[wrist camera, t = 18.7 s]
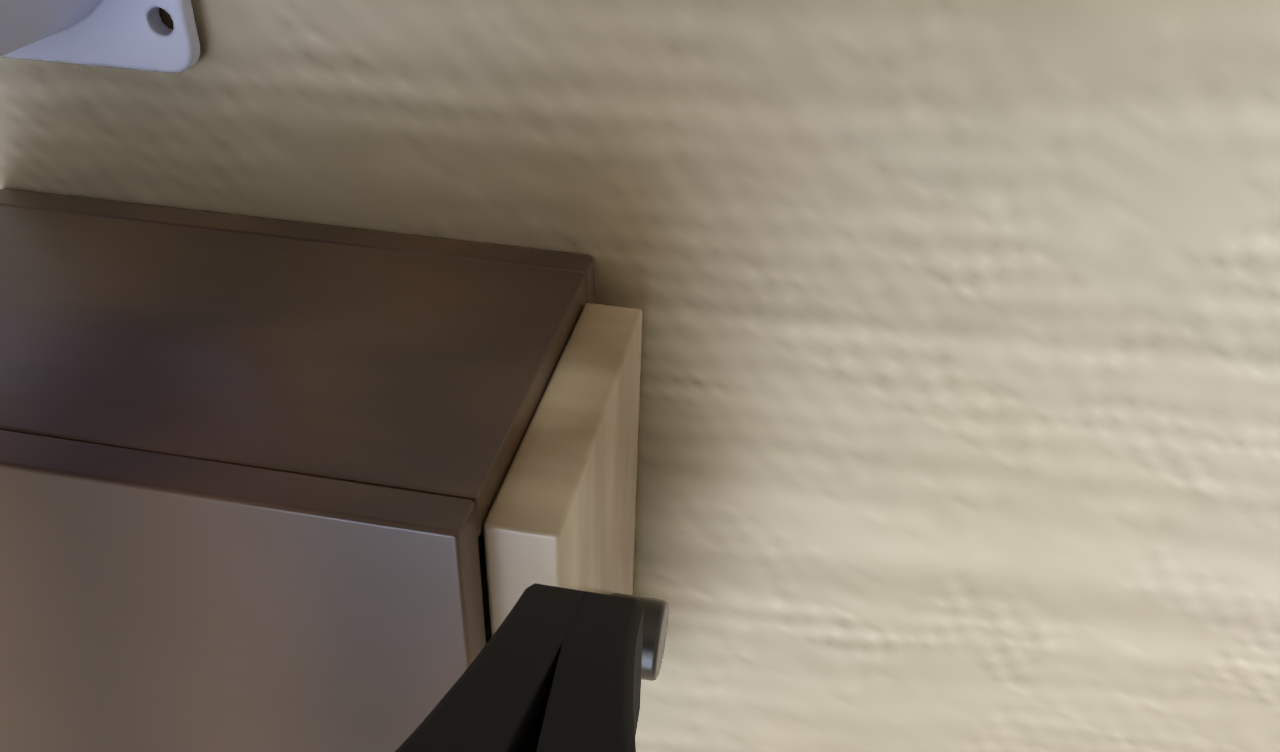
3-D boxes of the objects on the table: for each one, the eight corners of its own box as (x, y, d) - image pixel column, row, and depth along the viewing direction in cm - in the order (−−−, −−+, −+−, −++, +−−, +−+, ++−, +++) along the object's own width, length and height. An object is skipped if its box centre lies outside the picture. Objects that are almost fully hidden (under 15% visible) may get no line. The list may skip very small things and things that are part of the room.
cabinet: (594, 254, 22) (459, 534, 14) (592, 666, 29) (500, 989, 22) (-1, 186, 23) (-377, 406, 16) (136, 589, 30) (-87, 864, 23)
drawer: (702, 315, 21) (640, 547, 15) (675, 693, 27) (624, 954, 22) (75, 240, 23) (-185, 423, 17) (188, 610, 29) (24, 831, 23)
